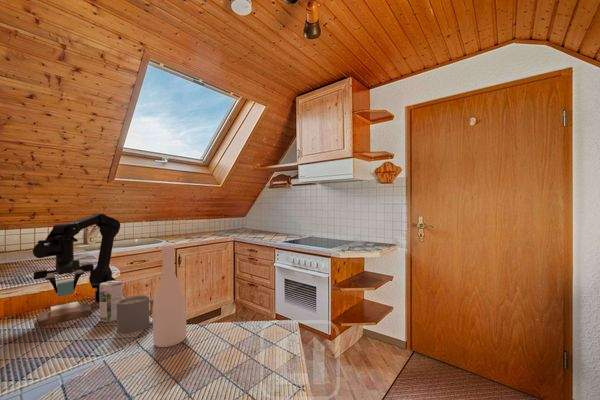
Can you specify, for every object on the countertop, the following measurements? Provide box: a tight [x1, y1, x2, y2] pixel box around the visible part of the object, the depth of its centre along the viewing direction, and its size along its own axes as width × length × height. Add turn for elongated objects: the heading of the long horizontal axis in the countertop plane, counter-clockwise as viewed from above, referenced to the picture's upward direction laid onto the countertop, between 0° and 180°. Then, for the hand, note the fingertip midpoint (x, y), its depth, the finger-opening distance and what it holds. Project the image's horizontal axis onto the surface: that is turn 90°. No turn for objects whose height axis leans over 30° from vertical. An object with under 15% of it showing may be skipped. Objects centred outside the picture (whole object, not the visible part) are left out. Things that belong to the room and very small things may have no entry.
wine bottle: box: [152, 244, 188, 348], centre depth 86 cm, size 10×10×30 cm
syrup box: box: [99, 280, 124, 323], centre depth 107 cm, size 6×6×14 cm
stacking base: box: [37, 301, 93, 328], centre depth 113 cm, size 16×13×4 cm
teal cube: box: [56, 279, 75, 298], centre depth 113 cm, size 5×5×5 cm
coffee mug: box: [116, 294, 154, 335], centre depth 99 cm, size 13×10×10 cm
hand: (65, 291), depth 113 cm, fingers closed on teal cube, 5 cm apart
